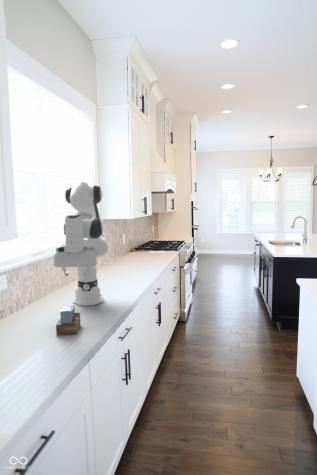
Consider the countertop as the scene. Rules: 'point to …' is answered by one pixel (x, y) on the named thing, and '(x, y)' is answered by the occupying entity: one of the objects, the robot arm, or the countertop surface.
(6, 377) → the countertop surface
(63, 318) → the block
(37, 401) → the countertop surface
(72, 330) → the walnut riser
